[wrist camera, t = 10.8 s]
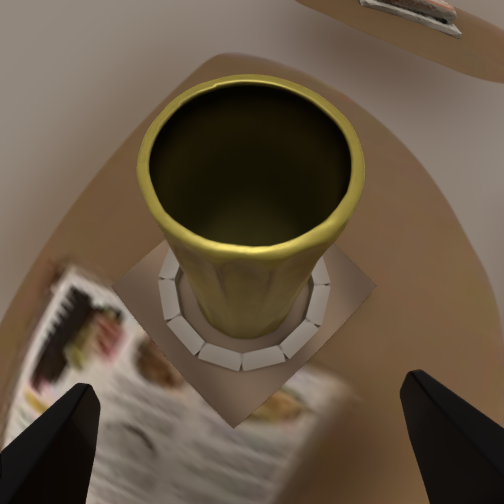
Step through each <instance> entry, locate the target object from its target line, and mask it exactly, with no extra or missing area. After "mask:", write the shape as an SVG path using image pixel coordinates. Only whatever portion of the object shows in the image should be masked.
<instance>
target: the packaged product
mask: <svg viewBox="0 0 504 504" xmlns="http://www.w3.org/2000/svg"><path fill="white" fill-rule="evenodd" d="M359 1H360V4H361V5H362V6H365V7H369V8H373V9H377V10H380V11H384V12H387V13H390V14H393V15H396V16H399V17H402V18H405V19H408V20H411V21H414V22H417V23H419V24H422V25H425V26H428V27H430V28H433V29H435V30H438V31H441V32H443V33H446V34H448V35H451V36H453V37H455V38H458V39H459V38H460V36H461V35H462V34H461V33H460V31H459V30H458V29H457V27H456V26H455V25H454V24H453V22H454V20H455V19H456V17H457V15H456V12H455V10H454V8H453V6H451V5H449V4H448V3H446V2H445V1H443V0H359Z"/></svg>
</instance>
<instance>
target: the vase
mask: <svg viewBox="0 0 504 504" xmlns="http://www.w3.org/2000/svg"><path fill="white" fill-rule="evenodd" d="M137 178H138V183H139V186H140V189H141V191H142V194H143V197H144V199H145V202H146V204H147V207H148V209H149V210H150V212H151V214H152V216H153V217H154V219H155V221H156V222H157V224H158V226H159V227H160V229H161V230H162V232H163V234H164V236H165V238H166V240H167V242H168V244H169V246H170V248H171V250H172V251H173V253H174V255H175V257H176V259H177V261H178V263H179V265H180V267H181V269H182V271H183V272H184V274H185V277H186V279H187V281H188V283H189V285H190V288H191V290H192V291H193V293H194V295H195V297H196V298H197V303H198V306H199V309H200V311H201V313H202V314H203V316H204V318H205V319H206V321H207V322H208V323H209V324H210V325H211V326H212V327H214V328H215V329H216V330H218V331H220V332H222V333H223V334H225V335H227V336H229V337H232V338H237V339H255V338H259V337H262V336H264V335H267V334H269V333H271V332H273V331H274V330H276V329H277V328H278V327H279V326H280V325H281V324H282V323H283V322H284V320H285V319H286V318H287V316H288V314H289V313H290V311H291V309H292V306H293V303H294V302H295V301H296V299H297V298H298V297H299V295H300V293H301V292H302V290H303V289H304V287H305V286H306V284H307V282H308V279H309V277H310V275H311V273H312V271H313V269H314V268H315V266H316V263H317V262H318V260H319V259H320V258H321V257H322V255H323V254H324V253H325V252H326V251H327V249H328V248H329V247H330V246H331V245H332V244H333V243H334V242H335V241H336V240H337V238H338V237H339V236H340V234H341V233H342V231H343V230H344V228H345V226H346V224H347V222H348V220H349V219H350V217H351V216H352V213H353V211H354V209H355V207H356V204H357V202H358V200H359V197H360V194H361V191H362V188H363V185H364V179H365V162H364V156H363V151H362V148H361V145H360V142H359V139H358V137H357V134H356V132H355V130H354V128H353V127H352V125H351V124H350V122H349V121H348V120H347V119H346V117H345V116H344V115H343V114H342V113H341V112H340V111H339V110H338V109H337V108H335V107H334V106H333V105H332V104H331V103H330V102H328V101H327V100H326V99H324V98H323V97H321V96H320V95H319V94H317V93H315V92H313V91H311V90H310V89H307V88H305V87H303V86H301V85H298V84H296V83H293V82H290V81H287V80H284V79H281V78H277V77H273V76H267V75H256V74H241V75H233V76H226V77H222V78H218V79H214V80H211V81H207V82H204V83H201V84H198V85H196V86H194V87H192V88H190V89H188V90H187V91H185V92H184V93H182V94H181V95H179V96H178V97H176V98H175V99H174V100H173V101H171V102H170V103H169V104H168V105H167V106H166V107H165V108H164V109H163V111H162V112H161V113H160V114H159V115H158V116H157V118H156V119H155V120H154V121H153V123H152V124H151V125H150V127H149V128H148V130H147V132H146V134H145V136H144V139H143V141H142V144H141V148H140V151H139V154H138V160H137Z"/></svg>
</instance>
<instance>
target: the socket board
mask: <svg viewBox="0 0 504 504" xmlns="http://www.w3.org/2000/svg"><path fill="white" fill-rule="evenodd" d="M376 286H377V285H376V284H375V283H374V282H373V281H372V280H371V279H370V278H369V277H368V276H367V275H366V274H365V273H364V272H363V271H362V270H361V269H360V268H359V267H358V266H357V265H356V264H355V263H354V262H353V261H352V260H351V259H350V258H349V257H348V256H347V255H346V254H345V253H344V252H343V251H342V250H341V249H340V248H339V247H338V246H337V245H336V244H335V243H333V244H332V245H331V246H330V247H329V248H328V249H327V251H326V252H325V253H324V254H323V255H322V257H321V258H320V259H319V260H318V262H317V263H316V266H315V268H314V269H313V271H312V273H311V275H310V277H309V279H308V282H307V284H306V286H305V287H304V289H303V290H302V292H301V293H300V295H299V297H298V298H297V299H296V301H295V302H294V303H293V306H292V309H291V311H290V313H289V314H288V316H287V318H286V319H285V320H284V322H283V323H282V324H281V325H280V326H279V327H278V328H277V329H276V330H274V331H273V332H271V333H269V334H267V335H264V336H262V337H259V338H255V339H237V338H232V337H229V336H227V335H225V334H223V333H222V332H220V331H218V330H216V329H215V328H214V327H212V326H211V325H210V324H209V323H208V322H207V321H206V319H205V318H204V316H203V314H202V313H201V311H200V309H199V306H198V303H197V298H196V297H195V295H194V293H193V291H192V290H191V288H190V285H189V283H188V281H187V279H186V277H185V274H184V272H183V271H182V269H181V267H180V265H179V263H178V261H177V259H176V257H175V255H174V253H173V251H172V250H171V248H170V246H169V244H168V242H167V240H166V239H165V240H164V241H163V242H161V243H160V244H159V245H158V246H157V247H156V248H154V249H153V250H152V251H151V252H150V253H148V254H147V255H146V256H145V257H144V258H143V259H142V260H140V261H139V262H138V263H137V264H136V265H135V266H133V267H132V268H131V269H130V270H129V271H128V272H127V273H125V274H124V275H123V276H122V277H121V278H120V279H119V280H118V281H116V282H115V283H114V284H113V285H112V286H111V287H112V288H113V290H114V291H115V292H116V294H117V295H118V296H119V298H120V299H121V300H122V302H123V303H124V304H125V306H126V307H127V308H128V310H129V311H130V312H131V314H132V315H133V316H134V317H135V319H136V320H137V321H138V323H139V324H140V325H141V326H142V328H143V329H144V330H145V331H146V333H147V334H148V335H149V336H150V338H151V339H152V340H153V341H154V342H155V344H156V345H157V346H158V347H159V348H160V350H161V351H162V352H163V353H164V354H165V356H166V357H167V358H168V359H169V360H170V361H171V363H172V364H173V365H174V366H175V367H176V368H177V369H178V371H179V372H180V373H181V374H182V375H183V376H184V377H185V378H186V380H187V381H188V382H189V383H190V384H191V385H192V386H193V387H194V388H195V389H196V390H197V392H198V393H199V394H200V395H201V396H202V397H203V398H204V399H205V400H206V401H207V402H208V403H209V404H210V405H211V406H212V407H213V408H214V409H215V410H216V411H217V412H218V414H219V415H220V416H221V417H222V418H223V419H224V420H225V421H226V422H227V423H228V424H229V425H230V426H232V427H233V428H235V427H236V426H237V425H238V424H240V423H241V422H242V421H243V420H244V419H245V418H247V417H248V416H249V415H250V414H251V413H252V412H253V411H255V410H256V409H257V408H258V407H259V406H260V405H261V404H262V403H264V402H265V401H266V400H267V399H268V398H269V397H270V396H271V395H272V394H273V393H274V392H276V391H277V390H278V389H279V388H280V387H281V386H282V385H283V384H284V383H285V382H286V381H287V380H288V379H289V378H290V377H291V376H292V375H293V374H295V373H296V372H297V371H298V370H299V369H300V368H301V367H302V366H303V365H304V364H305V363H306V362H307V361H308V360H309V359H310V358H311V357H312V356H313V355H314V354H315V353H316V352H317V351H318V350H319V349H320V348H321V347H322V346H323V344H324V343H325V342H326V341H327V340H328V339H329V338H330V337H331V336H332V335H333V334H334V333H335V332H336V331H337V330H338V329H339V328H340V327H341V325H342V324H343V323H344V322H345V321H346V320H347V319H348V318H349V317H350V316H351V315H352V313H353V312H354V311H355V310H356V309H357V308H358V307H359V306H360V305H361V303H362V302H363V301H364V300H365V299H366V298H367V297H368V295H369V294H370V293H371V292H372V291H373V290H374V289H375V287H376Z"/></svg>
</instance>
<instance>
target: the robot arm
mask: <svg viewBox="0 0 504 504" xmlns="http://www.w3.org/2000/svg"><path fill="white" fill-rule="evenodd" d="M400 399H401V403H402V407H403V412H404V416H405V420H406V425H407V429H408V434H409V438H410V441H411V444H412V447H413V450H414V453H415V456H416V460H417V463H418V466H419V469H420V472H421V475H422V479H423V482H424V485H425V488H426V492H427V495H428V499H429V502H430V504H504V428H503V427H501V426H500V425H498V424H497V423H496V422H494V421H493V420H491V419H490V418H489V417H487V416H486V415H484V414H483V413H482V412H480V411H479V410H477V409H476V408H475V407H473V406H472V405H470V404H469V403H468V402H466V401H465V400H464V399H462V398H461V397H459V396H458V395H457V394H455V393H454V392H452V391H451V390H450V389H448V388H447V387H445V386H444V385H443V384H441V383H440V382H438V381H437V380H436V379H434V378H433V377H431V376H430V375H429V374H427V373H426V372H424V371H423V370H420V369H419V370H414V371H410V372H408V373H407V375H406V377H405V380H404V382H403V384H402V387H401V389H400ZM100 409H101V406H100V402H99V399H98V398H97V396H96V393H95V391H94V389H93V387H92V386H91V385H90V384H85V383H77V384H75V385H74V386H73V387H72V388H71V389H70V390H69V391H67V392H66V393H65V394H64V395H63V396H62V397H61V398H60V399H59V400H57V401H56V402H55V403H54V404H53V405H52V406H51V407H50V408H48V409H47V410H46V411H45V412H44V413H43V414H42V415H41V416H40V417H38V418H37V419H36V420H35V421H34V422H33V423H32V424H31V425H30V426H29V427H27V428H26V429H25V430H24V431H23V432H22V433H21V434H20V435H19V436H18V437H16V438H15V439H14V440H13V441H12V442H11V443H10V444H9V445H8V446H7V447H6V448H4V449H3V450H2V451H1V453H0V504H86V498H87V493H88V487H89V482H90V477H91V472H92V467H93V462H94V457H95V452H96V443H97V434H98V425H99V417H100Z"/></svg>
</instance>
